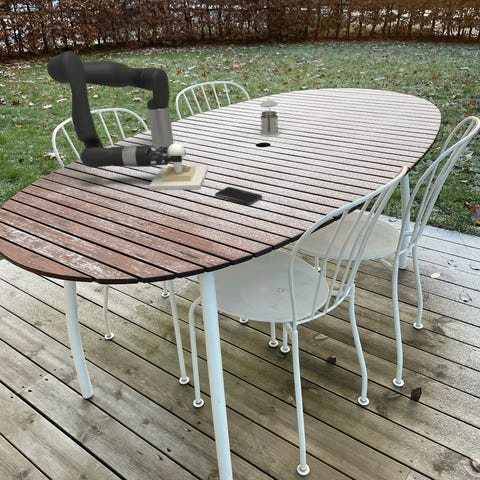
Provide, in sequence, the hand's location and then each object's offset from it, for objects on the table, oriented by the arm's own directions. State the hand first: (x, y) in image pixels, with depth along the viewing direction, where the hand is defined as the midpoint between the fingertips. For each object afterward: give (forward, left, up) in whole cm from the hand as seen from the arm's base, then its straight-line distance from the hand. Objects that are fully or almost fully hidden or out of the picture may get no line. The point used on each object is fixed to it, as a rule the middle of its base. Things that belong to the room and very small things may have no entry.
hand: (183, 155), depth 168 cm
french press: (-56, +29, -9) cm, 64 cm away
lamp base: (0, -2, -9) cm, 10 cm away
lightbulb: (0, -3, -7) cm, 7 cm away
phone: (+16, +21, -10) cm, 28 cm away
